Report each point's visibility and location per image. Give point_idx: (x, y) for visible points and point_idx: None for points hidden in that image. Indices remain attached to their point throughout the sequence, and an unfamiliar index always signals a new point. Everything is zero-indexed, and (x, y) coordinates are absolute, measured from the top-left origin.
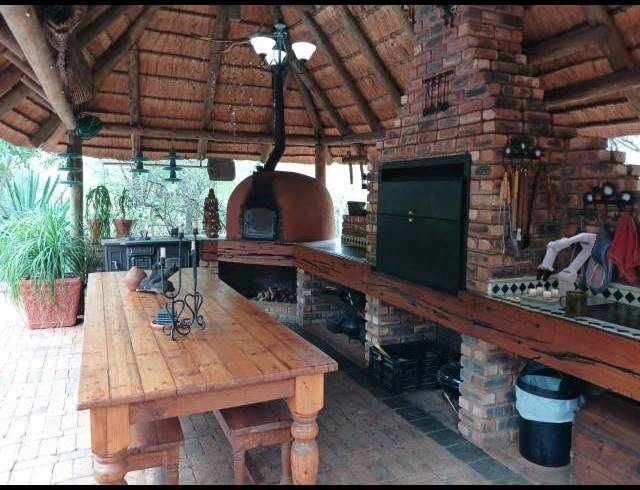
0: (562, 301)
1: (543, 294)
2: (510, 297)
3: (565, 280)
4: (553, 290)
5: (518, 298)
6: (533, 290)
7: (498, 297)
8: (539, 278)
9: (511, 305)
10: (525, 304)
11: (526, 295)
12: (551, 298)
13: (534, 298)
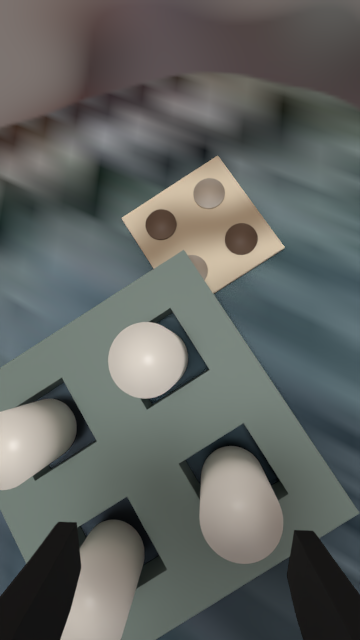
0: None
1: (36, 407)
2: (245, 210)
3: None
4: None
5: (201, 256)
6: (111, 346)
7: (277, 133)
8: (304, 614)
9: (13, 126)
10: (25, 229)
11: (213, 327)
12: (65, 486)
13: (85, 334)
